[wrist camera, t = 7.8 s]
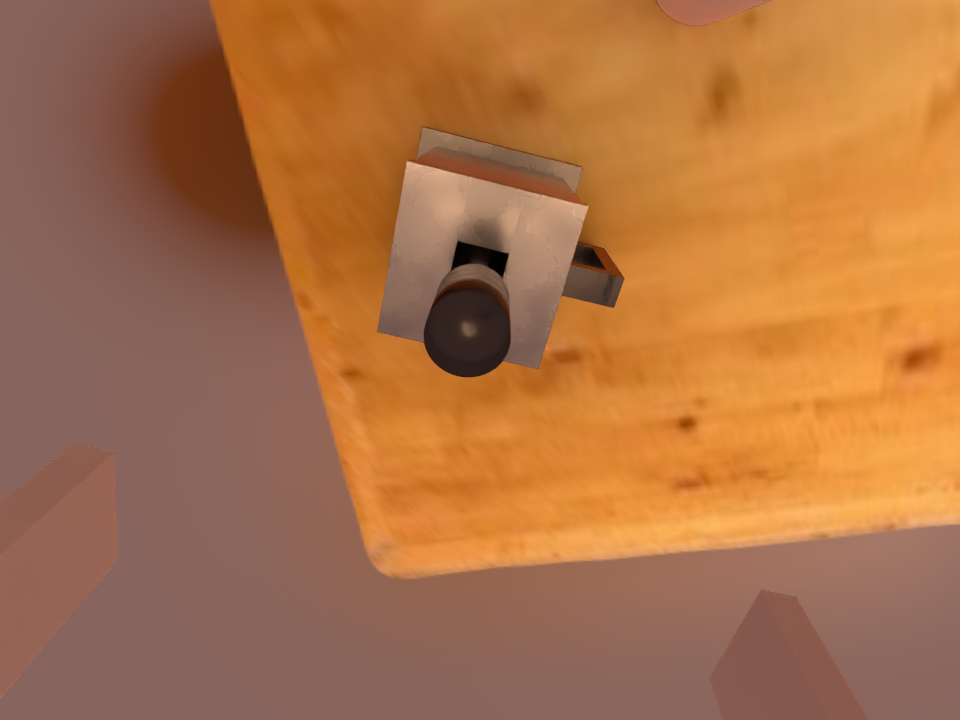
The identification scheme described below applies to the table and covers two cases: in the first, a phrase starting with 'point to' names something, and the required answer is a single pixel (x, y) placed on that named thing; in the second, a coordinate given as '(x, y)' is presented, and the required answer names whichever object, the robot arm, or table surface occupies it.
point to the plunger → (470, 314)
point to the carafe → (493, 237)
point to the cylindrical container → (705, 9)
